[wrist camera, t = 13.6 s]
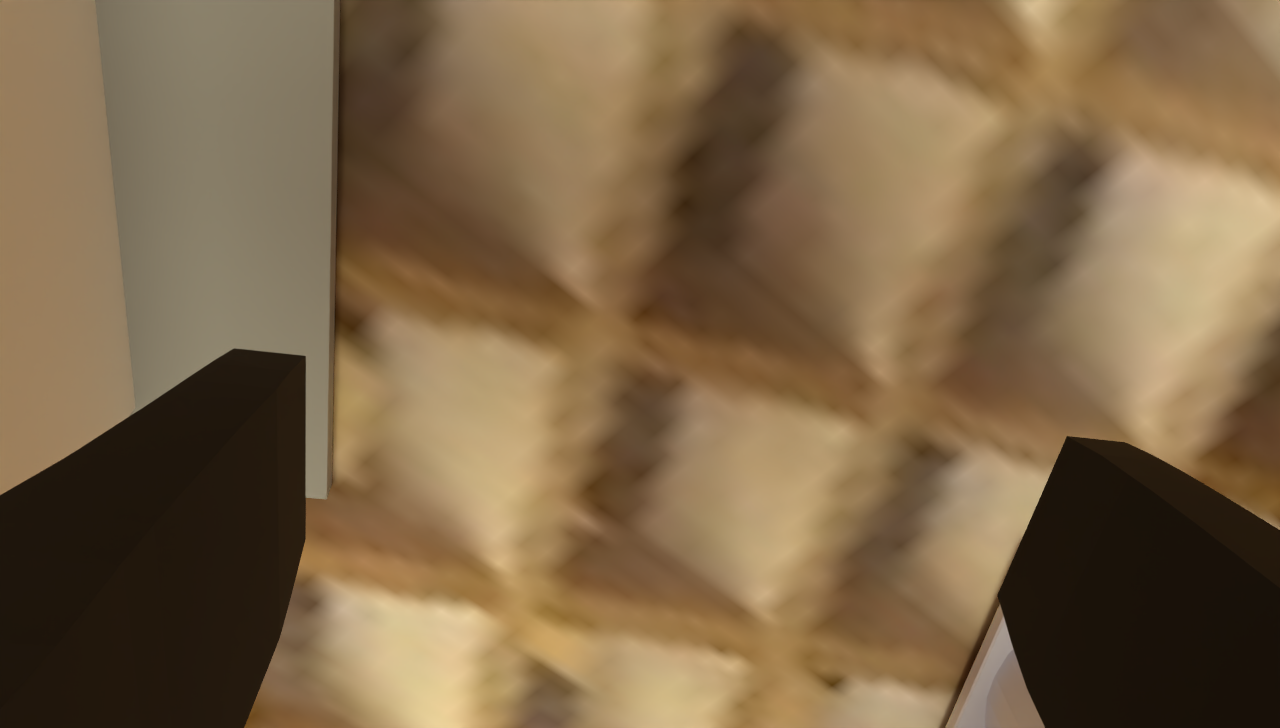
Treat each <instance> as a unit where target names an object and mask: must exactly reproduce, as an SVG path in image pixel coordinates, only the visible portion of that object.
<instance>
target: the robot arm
mask: <svg viewBox="0 0 1280 728" xmlns="http://www.w3.org/2000/svg"><path fill="white" fill-rule="evenodd" d="M305 519H306V356H303V355H293V354H284V353H274V352H265V351H255V350H246V349H236V348H234V349H232V350H230V351H229V352H227V353H225V354H224V355H222V356H220V357H219V358H217V359H216V360H214V361H212V362H211V363H209V364H208V365H206V366H205V367H203V368H202V369H200V370H199V371H197V372H196V373H194V374H193V375H191V376H190V377H188V378H187V379H185V380H184V381H182V382H181V383H179V384H178V385H176V386H175V387H173V388H172V389H170V390H169V391H167V392H166V393H164V394H163V395H161V396H160V397H158V398H157V399H155V400H154V401H152V402H151V403H149V404H148V405H146V406H145V407H143V408H142V409H140V410H139V411H137V412H136V413H134V414H132V415H131V416H129V417H128V418H126V419H125V420H123V421H122V422H120V423H118V424H117V425H115V426H114V427H112V428H111V429H109V430H108V431H106V432H104V433H103V434H101V435H100V436H98V437H97V438H95V439H94V440H92V441H90V442H89V443H87V444H86V445H84V446H83V447H81V448H80V449H78V450H76V451H75V452H73V453H72V454H70V455H68V456H67V457H65V458H64V459H62V460H60V461H58V462H57V463H55V464H53V465H52V466H50V467H48V468H46V469H45V470H43V471H41V472H39V473H38V474H36V475H34V476H32V477H31V478H29V479H27V480H26V481H24V482H22V483H20V484H19V485H17V486H15V487H13V488H12V489H10V490H8V491H6V492H5V493H3V494H1V495H0V728H244V726H245V724H246V721H247V719H248V717H249V714H250V711H251V709H252V706H253V704H254V701H255V699H256V696H257V694H258V691H259V689H260V686H261V684H262V681H263V679H264V676H265V674H266V671H267V669H268V666H269V664H270V661H271V659H272V656H273V653H274V651H275V648H276V646H277V643H278V641H279V638H280V635H281V631H282V627H283V624H284V620H285V616H286V613H287V609H288V605H289V601H290V598H291V594H292V590H293V586H294V582H295V578H296V574H297V570H298V566H299V562H300V558H301V554H302V551H303V547H304V543H305ZM998 599H999V602H1000V605H999V607H998V609H997V611H996V614H995V616H994V618H993V620H992V623H991V625H990V627H989V629H988V632H987V634H986V636H985V639H984V641H983V643H982V645H981V648H980V650H979V652H978V654H977V657H976V659H975V661H974V664H973V666H972V668H971V670H970V673H969V675H968V677H967V679H966V682H965V684H964V686H963V689H962V691H961V693H960V695H959V698H958V700H957V702H956V704H955V707H954V709H953V711H952V713H951V716H950V718H949V720H948V723H947V725H946V727H945V728H1280V530H1278V529H1277V528H1275V527H1274V526H1272V525H1270V524H1269V523H1267V522H1266V521H1264V520H1262V519H1261V518H1259V517H1257V516H1256V515H1254V514H1252V513H1251V512H1249V511H1248V510H1246V509H1244V508H1243V507H1241V506H1239V505H1238V504H1236V503H1235V502H1233V501H1231V500H1230V499H1228V498H1226V497H1225V496H1223V495H1221V494H1220V493H1218V492H1216V491H1215V490H1213V489H1211V488H1210V487H1208V486H1206V485H1205V484H1203V483H1201V482H1200V481H1198V480H1196V479H1194V478H1193V477H1191V476H1189V475H1187V474H1186V473H1184V472H1182V471H1181V470H1179V469H1177V468H1175V467H1173V466H1172V465H1170V464H1168V463H1166V462H1164V461H1162V460H1161V459H1159V458H1157V457H1155V456H1153V455H1151V454H1149V453H1147V452H1145V451H1143V450H1140V449H1138V448H1136V447H1134V446H1132V445H1130V444H1128V443H1125V442H1117V441H1107V440H1098V439H1088V438H1079V437H1069V436H1067V437H1066V440H1065V442H1064V444H1063V447H1062V449H1061V451H1060V454H1059V456H1058V458H1057V460H1056V463H1055V465H1054V467H1053V470H1052V472H1051V474H1050V476H1049V479H1048V481H1047V483H1046V486H1045V488H1044V490H1043V492H1042V495H1041V497H1040V499H1039V502H1038V504H1037V506H1036V508H1035V511H1034V513H1033V515H1032V518H1031V520H1030V522H1029V525H1028V527H1027V529H1026V531H1025V534H1024V536H1023V538H1022V541H1021V543H1020V545H1019V547H1018V550H1017V552H1016V554H1015V557H1014V559H1013V561H1012V563H1011V566H1010V568H1009V570H1008V573H1007V575H1006V577H1005V579H1004V582H1003V584H1002V586H1001V589H1000V591H999V593H998Z"/></svg>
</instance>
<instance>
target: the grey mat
mask: <svg viewBox="0 0 1280 728" xmlns="http://www.w3.org/2000/svg"><path fill="white" fill-rule="evenodd" d="M95 4H96V14H97V24H98V34H99V44H100V54H101V64H102V74H103V84H104V95H105V105H106V115H107V125H108V135H109V145H110V155H111V165H112V175H113V185H114V195H115V206H116V216H117V226H118V236H119V246H120V256H121V266H122V276H123V286H124V296H125V306H126V316H127V327H128V337H129V347H130V357H131V367H132V377H133V387H134V397H135V409H134V410H133V412H132V413H131V414H130V416H131V415H132V414H134V413H136V412H137V411H139V410H140V409H142V408H143V407H145V406H146V405H148V404H149V403H151V402H152V401H154V400H155V399H157V398H158V397H160V396H161V395H163V394H164V393H166V392H167V391H169V390H170V389H172V388H173V387H175V386H176V385H178V384H179V383H181V382H182V381H184V380H185V379H187V378H188V377H190V376H191V375H193V374H194V373H196V372H197V371H199V370H200V369H202V368H203V367H205V366H206V365H208V364H209V363H211V362H212V361H214V360H216V359H217V358H219V357H220V356H222V355H224V354H225V353H227V352H229V351H230V350H232V349H234V348H236V349H246V350H255V351H265V352H274V353H284V354H293V355H303V356H306V498H318V499H327V497H328V494H329V491H330V488H331V485H332V442H333V385H334V328H335V271H336V214H337V157H338V100H339V42H340V0H95Z"/></svg>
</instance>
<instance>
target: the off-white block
mask: <svg viewBox="0 0 1280 728" xmlns="http://www.w3.org/2000/svg"><path fill="white" fill-rule="evenodd" d="M134 409H135V397H134V387H133V377H132V367H131V357H130V347H129V337H128V327H127V316H126V306H125V296H124V286H123V276H122V266H121V256H120V246H119V236H118V226H117V216H116V206H115V195H114V185H113V175H112V165H111V155H110V145H109V135H108V125H107V115H106V105H105V95H104V84H103V74H102V64H101V54H100V44H99V34H98V24H97V14H96V4H95V0H0V495H1V494H3V493H5V492H6V491H8V490H10V489H12V488H13V487H15V486H17V485H19V484H20V483H22V482H24V481H26V480H27V479H29V478H31V477H32V476H34V475H36V474H38V473H39V472H41V471H43V470H45V469H46V468H48V467H50V466H52V465H53V464H55V463H57V462H58V461H60V460H62V459H64V458H65V457H67V456H68V455H70V454H72V453H73V452H75V451H76V450H78V449H80V448H81V447H83V446H84V445H86V444H87V443H89V442H90V441H92V440H94V439H95V438H97V437H98V436H100V435H101V434H103V433H104V432H106V431H108V430H109V429H111V428H112V427H114V426H115V425H117V424H118V423H120V422H122V421H123V420H125V419H126V418H128V417H129V416H130V414H131V413H132V412H133V410H134Z"/></svg>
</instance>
